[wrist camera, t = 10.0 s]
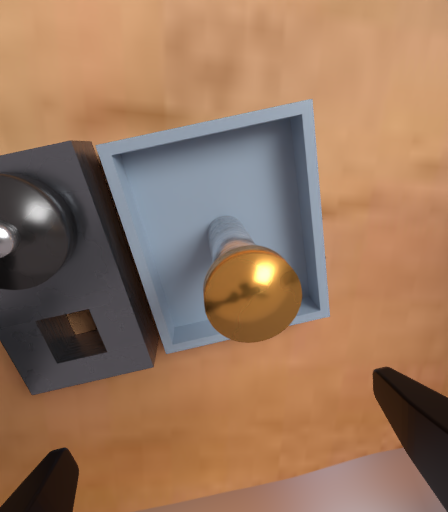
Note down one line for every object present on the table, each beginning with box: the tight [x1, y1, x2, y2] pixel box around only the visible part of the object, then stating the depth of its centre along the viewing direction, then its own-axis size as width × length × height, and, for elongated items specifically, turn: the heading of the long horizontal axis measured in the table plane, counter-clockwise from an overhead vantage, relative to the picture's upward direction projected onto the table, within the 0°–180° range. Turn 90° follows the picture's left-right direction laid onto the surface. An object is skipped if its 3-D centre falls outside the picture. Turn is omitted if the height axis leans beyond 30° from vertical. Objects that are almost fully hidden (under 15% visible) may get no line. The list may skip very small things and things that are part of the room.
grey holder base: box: [0, 141, 159, 395], centre depth 17 cm, size 8×14×5 cm, turn 12°
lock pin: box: [203, 215, 302, 343], centre depth 15 cm, size 4×4×9 cm
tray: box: [96, 99, 330, 354], centre depth 18 cm, size 11×13×2 cm
